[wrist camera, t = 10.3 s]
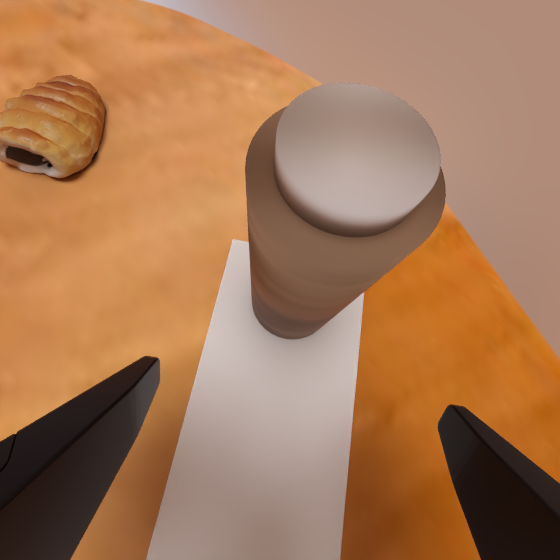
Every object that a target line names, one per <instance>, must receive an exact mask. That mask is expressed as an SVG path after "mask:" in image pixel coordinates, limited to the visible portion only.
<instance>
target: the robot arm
mask: <svg viewBox="0 0 560 560" xmlns="http://www.w3.org/2000/svg"><path fill="white" fill-rule="evenodd" d="M159 382H160V360H159V358H157V357H151V356H144V357H142V358H140V359H139V360H137V361H135V362H134V363H132V364H130V365H129V366H127V367H125V368H124V369H122V370H120V371H119V372H117V373H115V374H114V375H112V376H110V377H108V378H107V379H105V380H103V381H102V382H100V383H98V384H97V385H95V386H93V387H92V388H90V389H88V390H87V391H85V392H83V393H82V394H80V395H78V396H77V397H75V398H73V399H71V400H70V401H68V402H66V403H65V404H63V405H61V406H60V407H58V408H56V409H55V410H53V411H51V412H50V413H48V414H46V415H45V416H43V417H41V418H40V419H38V420H36V421H34V422H33V423H31V424H29V425H28V426H26V427H24V428H23V429H21V430H19V431H18V432H17V434H12V435H11V436H9V437H7V438H6V439H4V440H2V441H1V442H0V560H70V559H71V557H72V555H73V553H74V552H75V550H76V548H77V546H78V544H79V542H80V541H81V539H82V537H83V535H84V533H85V531H86V530H87V528H88V526H89V524H90V522H91V520H92V519H93V517H94V515H95V513H96V511H97V509H98V508H99V506H100V504H101V502H102V500H103V498H104V496H105V495H106V493H107V491H108V489H109V487H110V485H111V484H112V482H113V480H114V478H115V476H116V474H117V473H118V471H119V469H120V467H121V465H122V463H123V462H124V460H125V458H126V456H127V454H128V452H129V451H130V449H131V447H132V445H133V443H134V441H135V439H136V437H137V435H138V433H139V431H140V429H141V426H142V424H143V422H144V419H145V417H146V414H147V412H148V410H149V407H150V405H151V402H152V400H153V398H154V395H155V393H156V390H157V388H158V386H159ZM438 431H439V435H440V439H441V442H442V446H443V450H444V453H445V457H446V461H447V464H448V468H449V472H450V475H451V479H452V482H453V485H454V488H455V491H456V494H457V496H458V499H459V502H460V504H461V507H462V510H463V512H464V515H465V518H466V520H467V523H468V526H469V529H470V531H471V534H472V537H473V539H474V542H475V545H476V547H477V550H478V553H479V555H480V558H481V560H560V484H559V483H558V482H557V481H556V480H555V479H553V478H552V477H551V476H550V475H548V474H547V473H546V472H545V471H543V470H542V469H541V468H540V467H538V466H537V465H536V464H535V463H533V462H532V461H531V460H530V459H528V458H527V457H526V456H525V455H523V454H522V453H521V452H520V451H519V450H517V449H516V448H515V447H514V446H512V445H511V444H510V443H509V442H507V441H506V440H505V439H504V438H502V437H501V436H500V435H499V434H497V433H496V432H495V431H494V430H493V429H491V428H490V427H489V426H488V425H486V424H485V423H484V422H483V421H481V420H480V419H479V418H478V417H476V416H475V415H474V414H473V413H471V412H470V411H469V410H468V409H466V408H465V407H463V406H459V405H452V404H451V405H449V406H447V408H446V410H445V411H444V413H443V415H442V417H441V418H440V420H439V423H438Z"/></svg>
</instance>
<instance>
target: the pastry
mask: <svg viewBox="0 0 560 560" xmlns="http://www.w3.org/2000/svg"><path fill="white" fill-rule="evenodd" d="M5 108H6V111H3V112H1V113H0V161H2V162H4V163H7V164H11V165H13V166H14V167H18V168H19V169H20V170H22V171H25V172H28V173H45V174H46V175H48V176H51V177H56V178H63V177H67V176H69V175H71V174H73V173H77V172H79V171H81V170H82V169H84V168H85V167H86V166H87V165H88V164H90V163H91V160H92V157H93V155H94V153H95V152H97V151H98V147H99V144H100V139H101V136H102V130H103V125H104V118H105V109H104V105H103V102H102V100H101V97H100V95H99V93H98V92H97V90H96V89H95V88H94V87H93V86H92V85H91V84H90V83H88V82H86V81H83V80H80V79H77V78H76V77H74V76H72V75H65V76H56V77H53V78H51V79H50V80H48V81H47V82H45V83H37V85H36V86H35V87H34V88H32V89H28V90H23V91H22V92H21V95H20V97H17V98H10V99H8V100H6V103H5Z"/></svg>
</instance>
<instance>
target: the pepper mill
mask: <svg viewBox="0 0 560 560" xmlns="http://www.w3.org/2000/svg"><path fill="white" fill-rule="evenodd" d="M440 164H441V157H440V149H439V145H438V142H437V139H436V137H435V135H434V133H433V131H432V129H431V127H430V126H429V124H428V123H427V121H426V120H425V119H424V118H423V117H422V115H421V114H419V112H418V111H416V110H415V109H414V108H413V107H412V106H411V105H409V104H408V103H407V102H405V101H404V100H402V99H401V98H399V97H397V96H395V95H393V94H391V93H389V92H387V91H385V90H382V89H379V88H376V87H373V86H369V85H364V84H359V83H331V84H326V85H321V86H318V87H315V88H312V89H310V90H308V91H306V92H304V93H303V94H301V95H299V96H298V97H297V98H295V99H294V100H293V101H292V102H291V103H290V104H289V105H288V106H287V107H285V108H282V109H281V110H279V111H278V112H276V113H275V114H273V115H272V116H271V117H270V118H269V119H267V120H266V121H265V122H264V123H263V125H262V126H261V127H260V128H259V129H258V131H257V132H256V134H255V135H254V137H253V139H252V141H251V143H250V146H249V149H248V152H247V156H246V165H245V175H246V195H247V216H248V236H249V256H250V276H251V296H252V307H253V311H254V314H255V316H256V318H257V320H258V321H259V323H260V324H261V325H262V326H263V327H264V328H265V329H266V330H267V331H268V332H270V333H271V334H273V335H275V336H277V337H280V338H284V339H301V338H305V337H308V336H310V335H312V334H314V333H315V332H316V331H318V330H319V329H320V328H321V327H323V326H324V325H325V324H326V323H327V322H329V321H330V320H331V319H332V318H333V317H335V316H336V315H337V314H338V313H339V312H341V311H342V310H343V309H344V308H345V307H347V306H348V305H349V304H350V303H351V302H353V301H354V300H355V299H356V298H357V297H359V296H360V295H361V294H362V293H363V292H365V291H366V290H367V289H368V288H369V287H371V286H372V285H373V284H374V283H375V282H377V281H378V280H379V279H380V278H381V277H383V276H384V275H385V274H386V273H388V272H389V271H390V270H391V269H392V268H394V267H395V266H396V265H397V264H398V263H400V262H401V261H402V260H403V259H404V258H406V257H407V256H408V255H409V254H410V253H412V252H413V251H414V250H415V249H416V248H418V247H419V246H420V245H421V244H422V243H423V242H424V241H425V240H426V239H427V238H428V237H429V236H430V235H431V234H432V232H433V231H434V229H435V228H436V226H437V224H438V222H439V220H440V218H441V216H442V212H443V209H444V204H445V196H446V195H445V181H444V176H443V172H442V169H441V166H440Z"/></svg>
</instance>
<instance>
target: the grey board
mask: <svg viewBox="0 0 560 560" xmlns="http://www.w3.org/2000/svg"><path fill="white" fill-rule="evenodd" d="M363 299H364V292H363V293H362V294H361V295H360V296H359V297H357V298H356V299H355V300H354V301H353V302H351V303H350V304H349V305H348V306H347V307H345V308H344V309H343V310H342V311H341V312H339V313H338V314H337V315H336V316H335V317H333V318H332V319H331V320H330V321H329V322H327V323H326V324H325V325H324V326H323V327H321V328H320V329H319V330H318V331H316V332H315V333H314V334H312V335H310V336H308V337H305V338H301V339H284V338H280V337H277V336H275V335H273V334H271V333H270V332H268V331H267V330H266V329H265V328H264V327H263V326H262V325H261V324H260V323H259V321H258V320H257V318H256V316H255V314H254V311H253V307H252V296H251V276H250V256H249V242H245V241H240V240H235V239H233V241H232V245H231V248H230V252H229V256H228V259H227V263H226V267H225V270H224V274H223V278H222V281H221V285H220V289H219V292H218V296H217V300H216V303H215V307H214V311H213V315H212V318H211V322H210V326H209V329H208V333H207V337H206V340H205V344H204V348H203V351H202V355H201V359H200V362H199V366H198V370H197V373H196V377H195V381H194V384H193V388H192V392H191V396H190V399H189V403H188V407H187V410H186V414H185V418H184V421H183V425H182V429H181V432H180V436H179V440H178V443H177V447H176V451H175V454H174V458H173V462H172V465H171V469H170V473H169V477H168V480H167V484H166V488H165V491H164V495H163V499H162V502H161V506H160V510H159V513H158V517H157V521H156V524H155V528H154V532H153V535H152V539H151V543H150V546H149V550H148V554H147V558H146V560H340V555H341V543H342V532H343V521H344V510H345V499H346V488H347V477H348V466H349V455H350V444H351V433H352V421H353V410H354V399H355V388H356V377H357V366H358V355H359V344H360V333H361V322H362V310H363Z"/></svg>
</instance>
